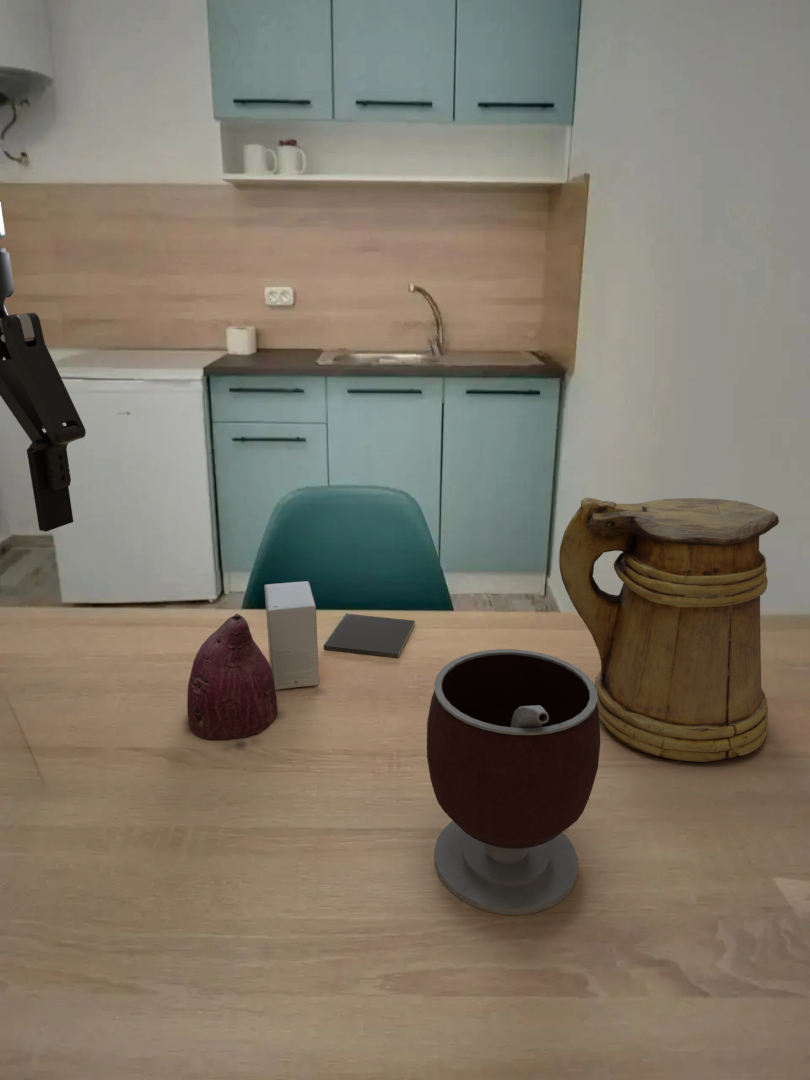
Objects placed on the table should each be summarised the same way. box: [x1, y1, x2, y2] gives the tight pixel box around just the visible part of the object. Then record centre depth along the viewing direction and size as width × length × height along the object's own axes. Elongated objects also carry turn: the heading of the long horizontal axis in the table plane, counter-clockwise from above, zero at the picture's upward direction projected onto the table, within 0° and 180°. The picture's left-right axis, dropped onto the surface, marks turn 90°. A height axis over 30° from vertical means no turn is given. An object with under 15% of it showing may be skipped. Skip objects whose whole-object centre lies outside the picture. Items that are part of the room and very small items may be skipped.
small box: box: [263, 580, 320, 691], centre depth 100 cm, size 8×6×10 cm
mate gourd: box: [426, 648, 601, 916], centre depth 67 cm, size 16×14×20 cm
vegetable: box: [186, 613, 278, 741], centre depth 90 cm, size 10×10×15 cm
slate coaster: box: [323, 613, 416, 659], centre depth 111 cm, size 10×10×1 cm
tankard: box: [558, 497, 780, 763], centre depth 89 cm, size 18×24×25 cm
